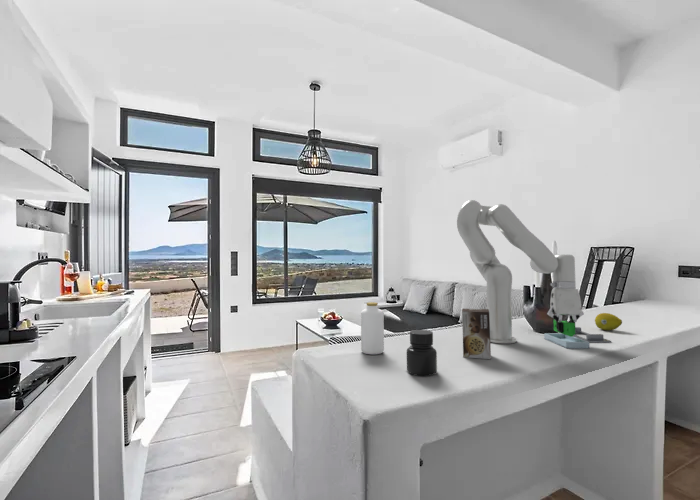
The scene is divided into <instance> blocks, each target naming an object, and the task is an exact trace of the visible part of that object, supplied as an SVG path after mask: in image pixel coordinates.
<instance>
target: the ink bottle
mask: <svg viewBox="0 0 700 500" xmlns="http://www.w3.org/2000/svg"><path fill="white" fill-rule="evenodd" d="M409 341H410V342H409V343H410V346H409V347H408V348H407V349H406V371H407V372H408V373H409V374H411V375H414V376H418V377H429V376H433V375H436V373H438V356H437V355H438V353H437V350H436V348H434V346H433V344H434V333H433V331H431V330H427V329H412V330H410V331H409Z"/></svg>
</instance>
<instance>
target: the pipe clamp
mask: <svg viewBox="0 0 700 500" xmlns="http://www.w3.org/2000/svg"><path fill="white" fill-rule="evenodd" d="M552 321H553V331H555V332H556V333H561V332H558V331H557V327H556V321H555V320H554V319H553V320H552ZM562 322H563V333H562V334H565V335H567V336H570V337H573V335H576V334H575V327H576V322H575V323H568V322H569V320H562Z"/></svg>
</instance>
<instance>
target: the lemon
mask: <svg viewBox="0 0 700 500" xmlns="http://www.w3.org/2000/svg"><path fill="white" fill-rule="evenodd" d="M594 322H595V323H594V324H595V326H596V327H597V328H598V329H600V330H602V331H607V332H608V331H615V330H616V329H618V328H619V327H621V325H622V324H623V320H622V319H621V318H619V317H618V316H616V315H615V314H612V313H610V312H602V313H601V312H600V313H598V314H597V315H596V317H595V319H594Z"/></svg>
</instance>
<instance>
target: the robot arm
mask: <svg viewBox="0 0 700 500" xmlns="http://www.w3.org/2000/svg"><path fill="white" fill-rule="evenodd" d="M480 225H482V226H491V227H492V226H493V227H496V229H498V230H499V231H500V233H501V234H502V235H503V236H504V238H506V240H507V241H508V242H509V243H510V244H511V245H512V246H513V247H516V248H517V249H519V250H520V251H521V252H523V253H524V254H525V255H526V256H527V257H528V258H529V259H530V262H529V264H530V268H531V270H532V271H534V272H535V273H540V274H548V275H549V274H552V277H553V281H552V282H550V284H549V285H550V286H551V287H553V288H552V290H551V293H550V301H549V302H550V303H549V304H550V305H549V306H550V308H549V310H548V311H547V313H546V315H548V316H549V317H551V318H552V319H553V320H555V321H556V327H557V331H558V332H557V333H559V332H561V333H563V322H562V321H563V316H564V315H565V316H568V317H569V318H568V323H575V324H576V323H577V321H578V320H579V319H580V318H581V317H582V316H583V315H584V314H585V312H584V311H583V309H582V300H581V296H580V291H579V289H578V288H576V287H577V286H576V285H577V283H576V259H575V256H574V255H572V254H555V255H554V253H553V251H551V250H550V249H549V248H548V247H547V245H546V244H545V243H544V242H543V241H541V239H539V238H538V237H537V236H536V235H535V234H534V233H532V232H531V231H530V230H529V229H528V227H526V226H525V225H524V223H523V221H521V220H520V219H519V218H518V216H517V215H516V214H515V213H514V211H513V210H511V208H510V207H508V206H507V205H506V204H502V203H499V204H496V205H494V206H490V205H489V206H487V205H481V204H480V202H479V201H477V200H476V199H475V200H474V199H469V200H467V201H465V202H464V203H463V205H462V206H461V208H460V209H459V211H458V214H457V219H456V226H457V227H456V228H457V231H458V234H459V236H460V238H461V239H462V240H463V243H464V245H465V246H466V248H467V249H468V251H469V258H470V259H471V261H472V262H473V264H474V265H475V267H476V269H477V270H478V272H479V273H480V274H481V276H482V278H483V280H484V281H486V292H485V293H486V294H485V296H486V297H485V298H486V309H489V315H490V343H492V344H503V345H504V344H505V345H508V344H514V343H517V338H516V337H515V336H513V321H512V319H513V315H512V311H513V310H512V285H513V274H512V271H511V269H510V268H509V267H508V266H507V265H505V264H503V263H501V262H500V261H499V260H500V259H498V257H497V256H496V250H495V247H494V246H493V245H492V244H491V242H490V241H489V240H488V238H487V237H486V235H485V234H484V231H482V230H483V229H481V227H480Z"/></svg>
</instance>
